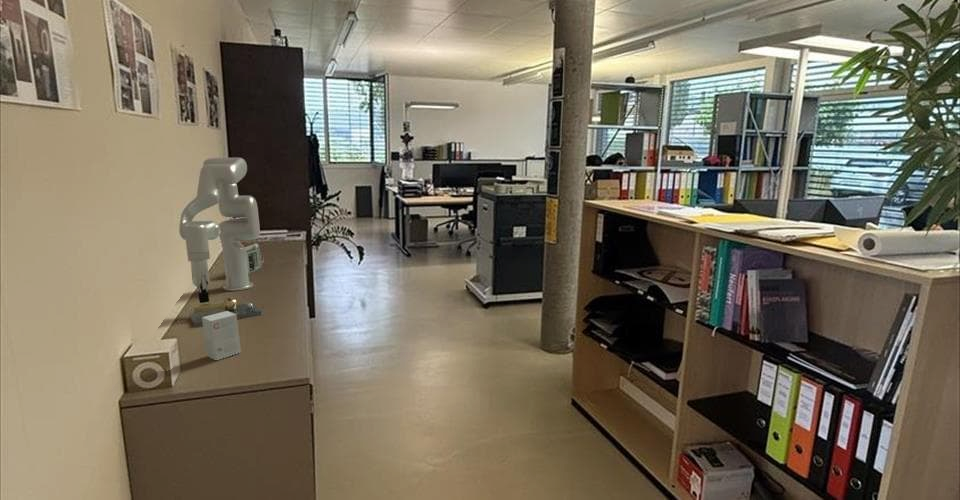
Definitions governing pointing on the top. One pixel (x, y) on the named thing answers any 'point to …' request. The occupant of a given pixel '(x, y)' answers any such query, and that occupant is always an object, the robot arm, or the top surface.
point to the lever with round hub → (217, 306)
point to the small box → (221, 335)
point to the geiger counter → (253, 257)
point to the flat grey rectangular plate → (240, 312)
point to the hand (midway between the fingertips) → (204, 301)
